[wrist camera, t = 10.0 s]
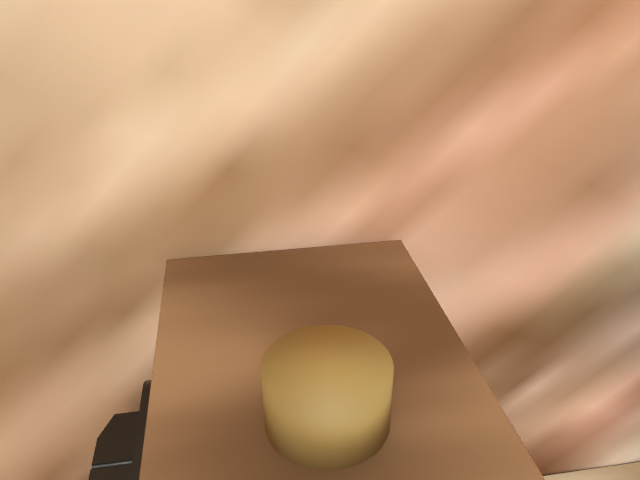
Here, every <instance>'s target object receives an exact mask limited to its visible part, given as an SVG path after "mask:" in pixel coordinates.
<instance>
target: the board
mask: <svg viewBox="0 0 640 480" xmlns="http://www.w3.org/2000/svg"><path fill="white" fill-rule="evenodd" d="M543 477H544V479H545V480H640V462H635V463H629V464H622V465H615V466H608V467H601V468H595V469H588V470H581V471H574V472H568V473H561V474H554V475H547V476H543Z"/></svg>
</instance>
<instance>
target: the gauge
mask: <svg viewBox="0 0 640 480" xmlns="http://www.w3.org/2000/svg"><path fill="white" fill-rule="evenodd" d="M139 480H545V479H544V477H543V476H542V474H541V472H540V471H539V469H538V467H537V466H536V464H535V462H534V461H533V459H532V457H531V456H530V454H529V452H528V451H527V449H526V447H525V446H524V444H523V442H522V441H521V439H520V438H519V436H518V434H517V433H516V431H515V429H514V428H513V426H512V424H511V423H510V421H509V419H508V418H507V416H506V414H505V413H504V411H503V409H502V408H501V406H500V404H499V403H498V401H497V399H496V398H495V396H494V394H493V393H492V391H491V389H490V388H489V386H488V384H487V383H486V381H485V379H484V378H483V376H482V374H481V373H480V371H479V369H478V368H477V366H476V364H475V363H474V361H473V359H472V358H471V356H470V354H469V353H468V351H467V349H466V348H465V346H464V344H463V343H462V341H461V339H460V338H459V336H458V334H457V333H456V331H455V329H454V328H453V326H452V325H451V323H450V321H449V320H448V318H447V316H446V315H445V313H444V311H443V310H442V308H441V306H440V305H439V303H438V301H437V300H436V298H435V296H434V295H433V293H432V291H431V290H430V288H429V286H428V285H427V283H426V281H425V280H424V278H423V276H422V275H421V273H420V271H419V270H418V268H417V266H416V265H415V263H414V261H413V260H412V258H411V256H410V255H409V253H408V251H407V250H406V248H405V246H404V245H403V243H402V241H401V240H395V241H384V242H372V243H360V244H348V245H336V246H324V247H313V248H301V249H289V250H277V251H265V252H253V253H242V254H230V255H218V256H206V257H194V258H182V259H171V260H167V261H166V269H165V277H164V285H163V293H162V301H161V309H160V317H159V325H158V333H157V341H156V349H155V357H154V365H153V373H152V381H151V389H150V397H149V405H148V413H147V421H146V429H145V437H144V445H143V453H142V461H141V469H140V476H139Z"/></svg>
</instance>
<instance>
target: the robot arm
mask: <svg viewBox="0 0 640 480" xmlns="http://www.w3.org/2000/svg"><path fill="white" fill-rule="evenodd" d="M151 381H152V380H148V381H145V382H144V384H143V390H142V397H141V404H140V411H138V412H129V413H121V414H115V415H114V416H113V417H112V419H111V420H110V422H109V423H108V424H107V426H106V427H105V428H104V430H103V431H102V433H101V434H100V435H99V437H98V438H97V443H96V447H95V452H94V457H93V461H92V470H90V475H89V480H139V476H140V469H141V461H142V453H143V445H144V437H145V429H146V421H147V413H148V405H149V397H150V389H151Z"/></svg>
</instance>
